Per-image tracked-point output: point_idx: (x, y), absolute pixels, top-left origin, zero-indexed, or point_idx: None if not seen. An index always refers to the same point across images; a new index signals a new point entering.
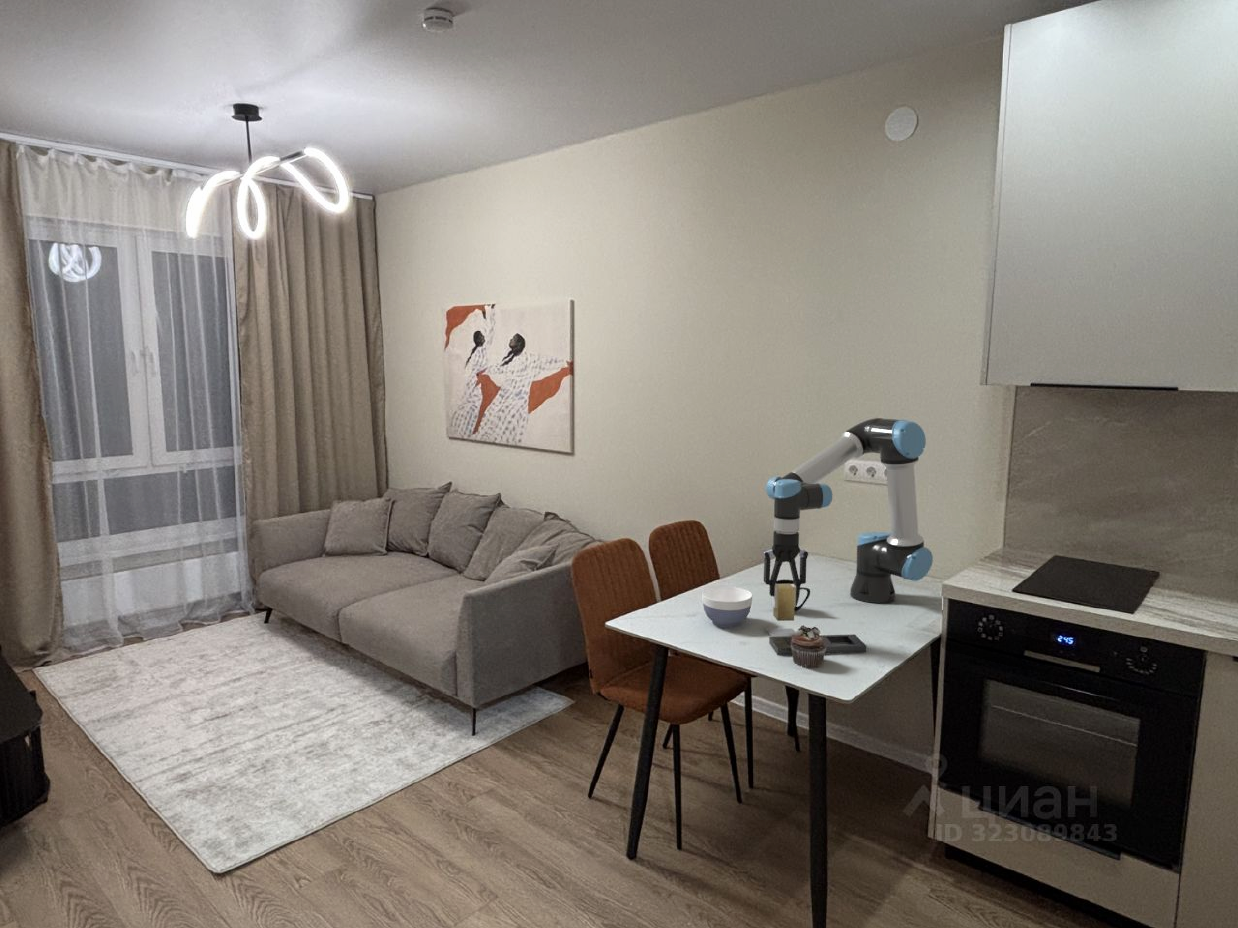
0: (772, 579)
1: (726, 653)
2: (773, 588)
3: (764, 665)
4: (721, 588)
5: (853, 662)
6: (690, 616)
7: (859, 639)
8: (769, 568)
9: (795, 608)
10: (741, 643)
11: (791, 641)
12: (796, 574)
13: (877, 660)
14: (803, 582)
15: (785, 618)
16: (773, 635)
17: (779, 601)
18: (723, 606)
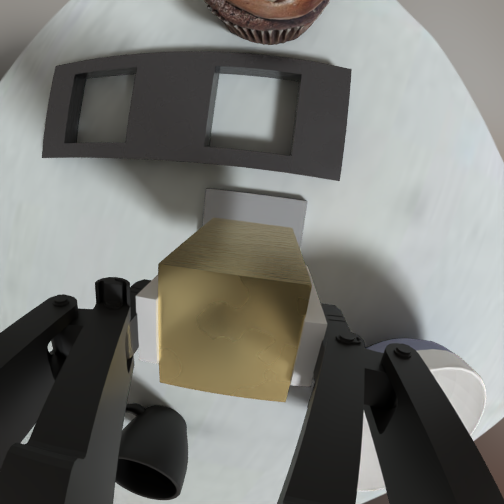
0: (362, 373)
1: (479, 142)
2: (329, 331)
3: (406, 28)
4: (375, 484)
5: (135, 4)
6: None
7: (47, 114)
8: (444, 455)
9: (141, 410)
10: (421, 203)
11: (323, 7)
12: (82, 355)
13: (74, 22)
14: (66, 298)
15: (254, 224)
16: (295, 232)
17: (293, 250)
18: (461, 360)
